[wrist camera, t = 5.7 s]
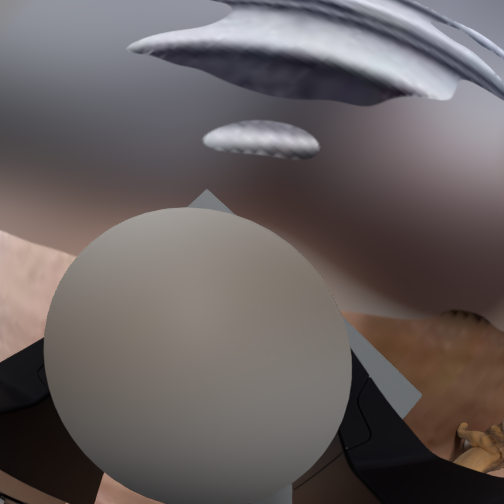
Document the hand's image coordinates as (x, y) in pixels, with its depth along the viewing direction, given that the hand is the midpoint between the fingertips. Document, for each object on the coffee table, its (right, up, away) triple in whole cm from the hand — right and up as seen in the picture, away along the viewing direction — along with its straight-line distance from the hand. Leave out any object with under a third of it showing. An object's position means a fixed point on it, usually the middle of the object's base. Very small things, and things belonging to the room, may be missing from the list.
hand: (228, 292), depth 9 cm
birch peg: (0, -2, +4) cm, 5 cm away
